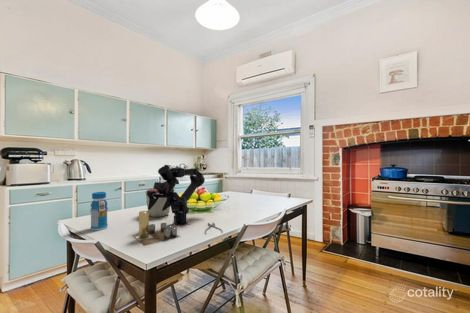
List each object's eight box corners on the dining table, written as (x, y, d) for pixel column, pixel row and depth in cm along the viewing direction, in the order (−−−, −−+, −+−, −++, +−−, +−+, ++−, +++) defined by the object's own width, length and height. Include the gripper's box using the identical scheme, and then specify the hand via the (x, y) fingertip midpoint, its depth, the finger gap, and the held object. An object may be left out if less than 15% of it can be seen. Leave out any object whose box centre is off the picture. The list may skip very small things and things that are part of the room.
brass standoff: (148, 234, 115) (148, 210, 115) (149, 237, 111) (149, 212, 111) (138, 236, 113) (138, 211, 113) (139, 239, 109) (139, 213, 109)
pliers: (206, 234, 118) (197, 223, 136) (206, 236, 118) (197, 225, 136) (224, 231, 121) (213, 221, 140) (224, 233, 121) (213, 223, 140)
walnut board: (166, 230, 126) (166, 228, 126) (180, 238, 113) (180, 236, 113) (132, 237, 114) (132, 235, 114) (143, 247, 101) (143, 245, 101)
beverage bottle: (87, 231, 125) (87, 194, 125) (94, 226, 134) (93, 191, 134) (104, 230, 127) (104, 193, 127) (109, 225, 135) (109, 191, 135)
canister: (176, 212, 167) (176, 183, 167) (166, 218, 149) (166, 186, 149) (152, 211, 169) (152, 182, 169) (139, 218, 151) (139, 185, 151)
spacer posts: (164, 229, 125) (164, 221, 125) (178, 236, 112) (178, 228, 112) (147, 232, 119) (147, 224, 119) (160, 241, 107) (160, 232, 107)
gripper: (148, 176, 128) (132, 199, 118) (176, 176, 121) (162, 201, 110) (158, 188, 135) (144, 211, 125) (185, 189, 128) (173, 214, 118)
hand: (155, 209), depth 119 cm, fingers open, 9 cm apart
